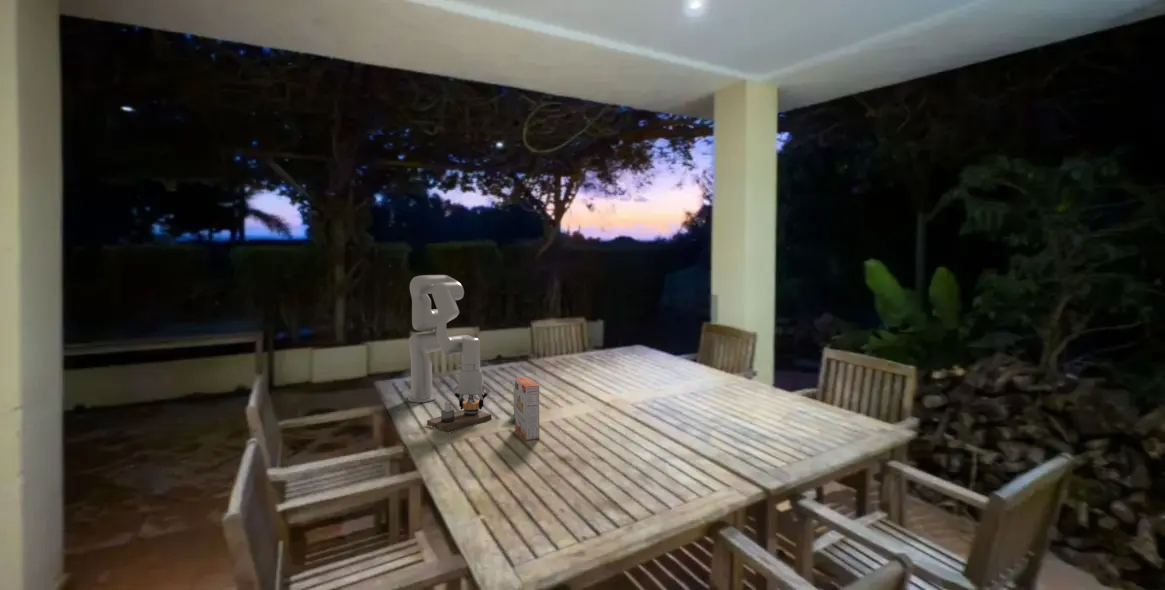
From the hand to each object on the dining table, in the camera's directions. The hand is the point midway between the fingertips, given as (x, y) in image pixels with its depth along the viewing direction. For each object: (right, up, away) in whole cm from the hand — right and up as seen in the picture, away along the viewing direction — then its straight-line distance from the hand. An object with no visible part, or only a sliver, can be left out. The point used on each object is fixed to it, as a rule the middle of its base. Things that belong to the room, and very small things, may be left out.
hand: (471, 408), depth 223 cm
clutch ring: (0, 0, 0) cm, 0 cm away
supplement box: (+21, -4, +8) cm, 23 cm away
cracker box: (+25, -7, -17) cm, 31 cm away
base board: (-4, -5, -4) cm, 8 cm away
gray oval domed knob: (-8, -3, -9) cm, 12 cm away
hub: (0, -2, 0) cm, 2 cm away
